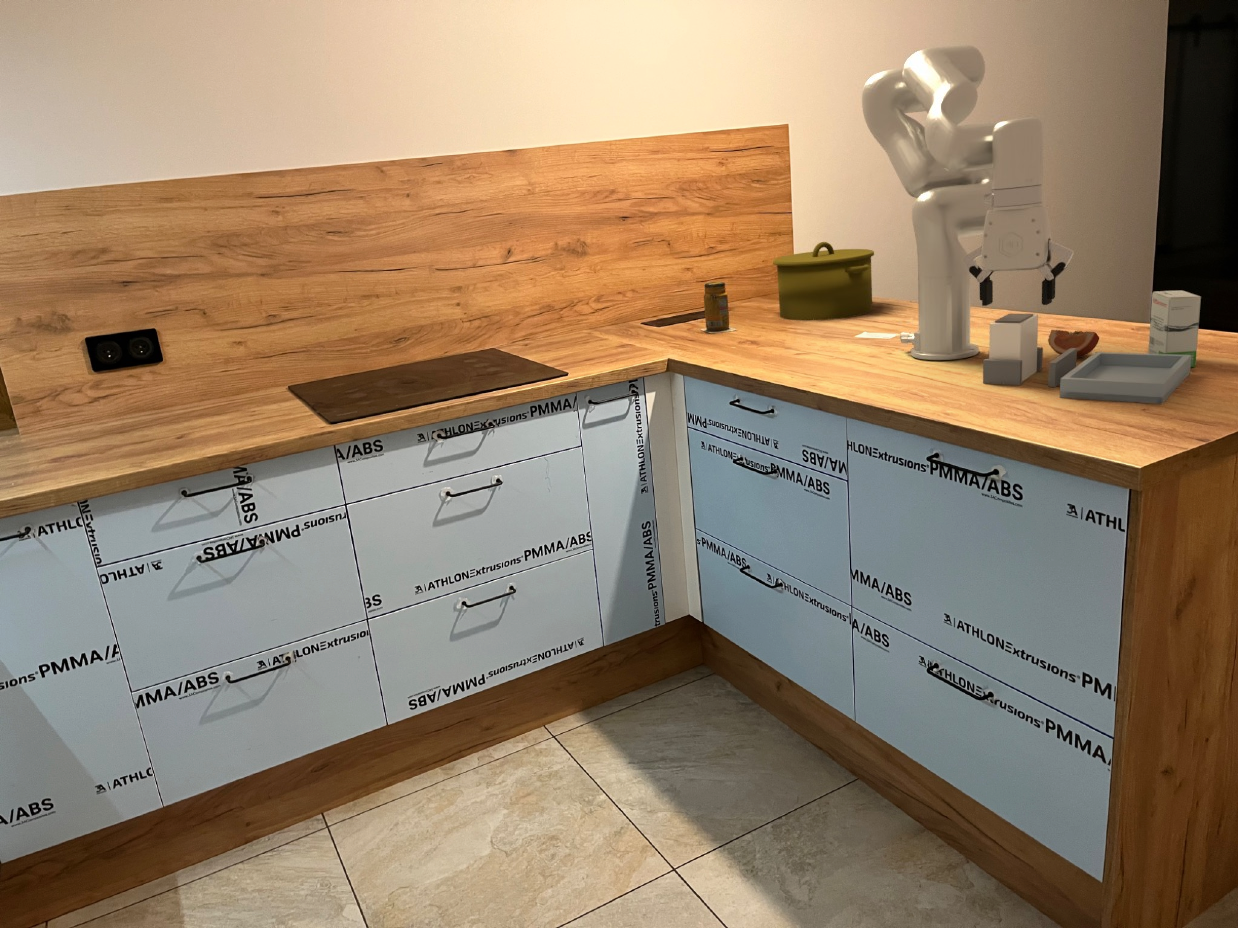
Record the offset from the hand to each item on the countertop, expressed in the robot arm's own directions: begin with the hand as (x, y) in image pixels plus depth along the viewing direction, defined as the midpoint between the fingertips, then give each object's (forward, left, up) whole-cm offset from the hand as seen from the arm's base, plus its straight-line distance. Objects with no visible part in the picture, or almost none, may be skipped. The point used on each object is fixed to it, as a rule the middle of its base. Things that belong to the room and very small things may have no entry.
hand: (1016, 304), depth 154 cm
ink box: (+21, +15, -13) cm, 29 cm away
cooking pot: (-68, +60, -13) cm, 92 cm away
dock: (+2, 0, -12) cm, 13 cm away
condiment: (-84, +33, -13) cm, 92 cm away
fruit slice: (+5, +17, -13) cm, 22 cm away
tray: (+18, -2, -13) cm, 22 cm away
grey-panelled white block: (0, 0, -13) cm, 13 cm away
